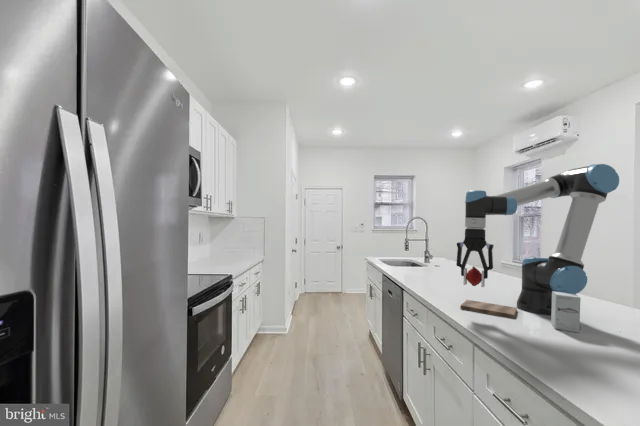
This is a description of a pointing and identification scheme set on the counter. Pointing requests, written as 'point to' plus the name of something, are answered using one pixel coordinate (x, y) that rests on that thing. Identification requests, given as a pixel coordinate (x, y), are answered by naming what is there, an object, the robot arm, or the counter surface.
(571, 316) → the supplement box
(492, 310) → the walnut board
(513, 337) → the counter surface
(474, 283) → the onion
